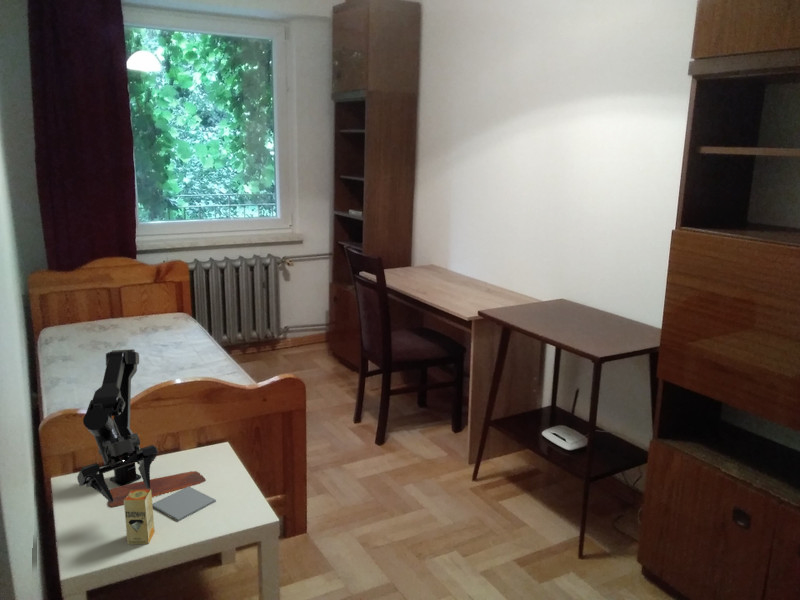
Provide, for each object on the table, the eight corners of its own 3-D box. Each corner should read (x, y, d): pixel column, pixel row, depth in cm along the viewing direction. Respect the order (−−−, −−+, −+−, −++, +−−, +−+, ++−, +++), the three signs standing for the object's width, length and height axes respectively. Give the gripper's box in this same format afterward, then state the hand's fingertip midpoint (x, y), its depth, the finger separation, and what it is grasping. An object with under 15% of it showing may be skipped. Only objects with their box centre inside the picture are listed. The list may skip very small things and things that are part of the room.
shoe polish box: (134, 532, 159) (130, 489, 156) (154, 532, 159) (151, 489, 157) (127, 544, 154) (123, 500, 151) (148, 543, 154) (144, 499, 152)
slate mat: (151, 506, 171) (151, 504, 171) (188, 488, 180) (188, 486, 180) (178, 521, 164) (178, 519, 164) (215, 501, 174) (215, 499, 173)
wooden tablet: (109, 511, 170) (109, 505, 169) (104, 494, 178) (103, 489, 177) (208, 485, 184) (208, 479, 183) (199, 470, 192) (198, 465, 191)
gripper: (76, 437, 150) (99, 496, 145) (152, 415, 163) (175, 469, 158) (68, 457, 157) (89, 514, 152) (141, 434, 170) (163, 486, 165)
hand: (131, 494), depth 157 cm, fingers open, 9 cm apart
